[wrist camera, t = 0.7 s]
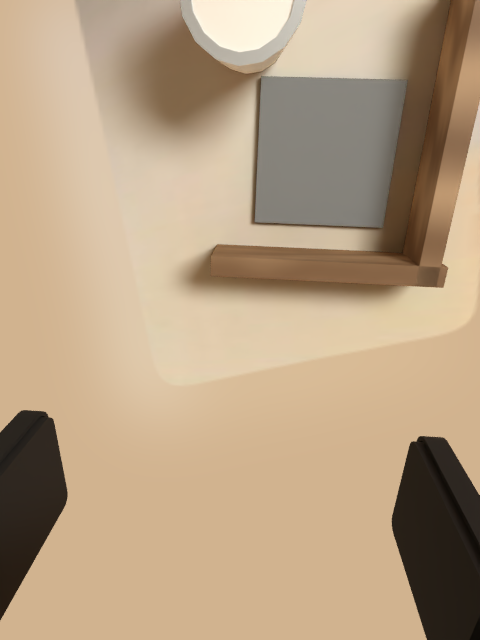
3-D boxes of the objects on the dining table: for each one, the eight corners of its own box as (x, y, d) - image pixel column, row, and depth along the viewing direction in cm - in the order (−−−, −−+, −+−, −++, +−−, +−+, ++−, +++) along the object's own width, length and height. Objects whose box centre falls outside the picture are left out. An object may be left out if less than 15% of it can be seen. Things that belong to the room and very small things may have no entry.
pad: (261, 77, 29) (261, 76, 28) (405, 80, 28) (407, 79, 28) (254, 221, 33) (254, 222, 32) (381, 226, 32) (382, 227, 32)
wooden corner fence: (219, -21, 27) (212, -49, 23) (486, -18, 26) (522, -45, 22) (217, 262, 34) (210, 275, 30) (424, 272, 33) (443, 287, 30)
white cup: (197, 80, 29) (176, 61, 23) (199, -41, 26) (177, -103, 20) (293, 87, 29) (300, 69, 22) (306, -36, 26) (318, -96, 20)
